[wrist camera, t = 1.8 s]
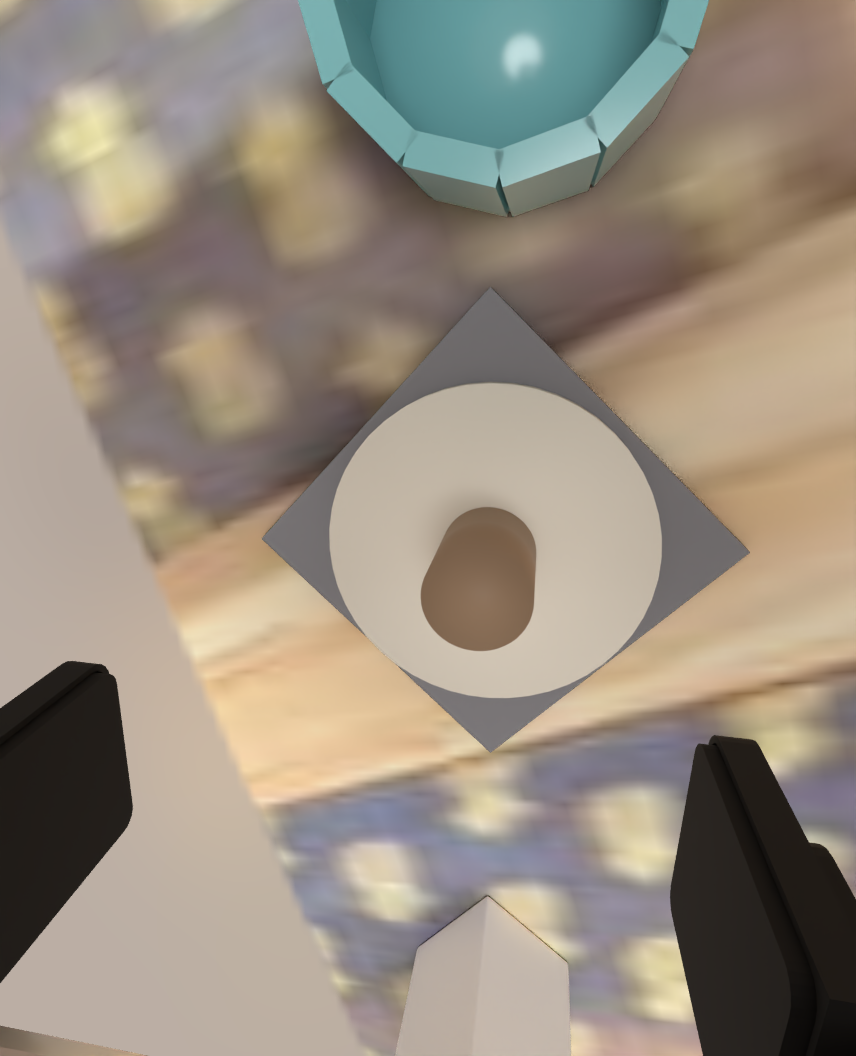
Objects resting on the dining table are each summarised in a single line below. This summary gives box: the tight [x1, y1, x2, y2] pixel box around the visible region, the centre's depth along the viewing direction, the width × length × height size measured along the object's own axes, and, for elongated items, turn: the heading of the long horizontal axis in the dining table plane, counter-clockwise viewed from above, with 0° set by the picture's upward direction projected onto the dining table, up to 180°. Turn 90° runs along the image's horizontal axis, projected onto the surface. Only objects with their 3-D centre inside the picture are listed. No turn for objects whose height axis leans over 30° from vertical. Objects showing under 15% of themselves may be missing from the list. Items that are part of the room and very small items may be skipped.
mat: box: [262, 287, 750, 753], centre depth 29 cm, size 15×15×1 cm
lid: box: [329, 382, 662, 698], centre depth 26 cm, size 14×14×6 cm
